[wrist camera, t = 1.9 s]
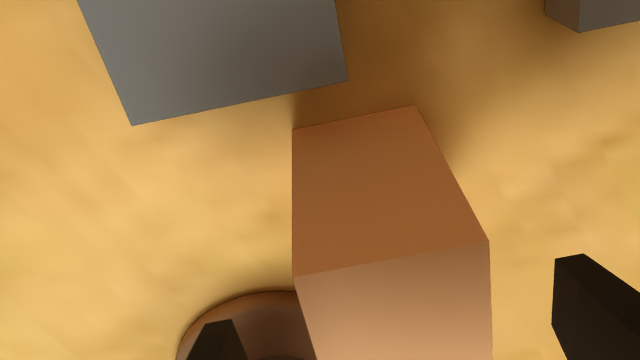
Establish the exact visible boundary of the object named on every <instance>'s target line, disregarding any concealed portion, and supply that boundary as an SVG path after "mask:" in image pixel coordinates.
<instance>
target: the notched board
mask: <svg viewBox="0 0 640 360" xmlns="http://www.w3.org/2000/svg"><path fill="white" fill-rule="evenodd" d="M77 2H78V4H79V6H80V9H81V11H82V13H83V16H84V18H85V20H86V23H87V25H88V27H89V29H90V32H91V34H92V36H93V39H94V41H95V43H96V46H97V48H98V50H99V52H100V55H101V57H102V59H103V62H104V64H105V66H106V69H107V71H108V73H109V75H110V78H111V80H112V82H113V85H114V87H115V89H116V91H117V94H118V96H119V98H120V101H121V103H122V105H123V108H124V110H125V112H126V114H127V117H128V119H129V121H130V124H131V126H135V125H140V124H144V123H149V122H154V121H159V120H164V119H168V118H173V117H178V116H183V115H188V114H192V113H197V112H202V111H207V110H212V109H216V108H221V107H226V106H231V105H235V104H240V103H245V102H250V101H255V100H259V99H264V98H269V97H274V96H279V95H283V94H288V93H293V92H298V91H303V90H307V89H312V88H317V87H322V86H327V85H331V84H336V83H341V82H346V81H349V80H348V74H347V68H346V63H345V57H344V52H343V46H342V40H341V35H340V29H339V24H338V18H337V13H336V7H335V1H334V0H77ZM545 15H546V16H548V17H550V18H552V19H553V20H555V21H557V22H559V23H561V24H563V25H565V26H566V27H568V28H570V29H572V30H574V31H576V32H577V33H581V32H586V31H590V30H595V29H600V28H605V27H610V26H614V25H619V24H624V23H629V22H634V21H638V20H640V0H545Z"/></svg>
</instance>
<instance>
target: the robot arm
mask: <svg viewBox="0 0 640 360" xmlns="http://www.w3.org/2000/svg"><path fill="white" fill-rule="evenodd" d="M551 325H552V327H553V329H554V331H555V334H556V336H557V338H558V340H559V343H560V345H561V347H562V349H563V351H564V353H565V356H566V358H567V360H640V292H638V291H637V290H635V289H634V288H632V287H631V286H630V285H628V284H627V283H625V282H624V281H622V280H621V279H620V278H618V277H617V276H615V275H614V274H612V273H611V272H610V271H608V270H607V269H605V268H604V267H602V266H601V265H600V264H598V263H597V262H595V261H594V260H592V259H591V258H590V257H588V256H587V255H585V254H584V253H583V254H578V255H572V256H567V257H562V258H556V259H555V268H554V286H553V304H552V323H551ZM186 360H248V357H247V355H246V352H245V350H244V348H243V345H242V343H241V340H240V338H239V336H238V333H237V331H236V328H235V326H234V323H233V321H232V319H227V320H221V321H216V322H211V323H205V325H204V326H203V327H202V329H201V331H200V333H199V335H198V337H197V339H196V341H195V342H194V344H193V346H192V348H191V350H190V352H189V354H188V356H187V358H186Z"/></svg>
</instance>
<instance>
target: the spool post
mask: <svg viewBox="0 0 640 360" xmlns="http://www.w3.org/2000/svg"><path fill="white" fill-rule="evenodd" d="M227 319H232V321H233V323H234V326H235V328H236V331H237V333H238V336H239V338H240V340H241V343H242V345H243V348H244V350H245V352H246V355H247V357H248V360H317V357H316V354H315V351H314V348H313V344H312V341H311V338H310V335H309V331H308V328H307V325H306V322H305V318H304V315H303V312H302V308H301V305H300V302H299V299H298V295H297V292H294V291H269V292H261V293H254V294H250V295H246V296H241V297H238V298H235V299H233V300H230V301H227V302H225V303H223V304H221V305H219V306H216V307H214V308H213V309H211V310H210V311H208V312H207V313H205V314H204V315H202V316H201V317H200V318H199V319H198V320H197V321H195V322H194V323H193V325H192V326H191V327H190V328H189V329H188V330H187V332H186V333H185V335H184V337H183V338H182V340H181V343H180V345H179V348H178V352H177V356H176V360H186V358H187V356H188V354H189V352H190V350H191V348H192V346H193V344H194V342H195V341H196V339H197V337H198V335H199V333H200V331H201V329H202V327H203V326H204V325H205V323H211V322H216V321H221V320H227Z"/></svg>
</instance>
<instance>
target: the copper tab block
mask: <svg viewBox="0 0 640 360" xmlns="http://www.w3.org/2000/svg"><path fill="white" fill-rule="evenodd" d="M292 279H293V282H294V286H295V289H296V292H297V295H298V299H299V302H300V305H301V308H302V312H303V315H304V318H305V322H306V325H307V328H308V331H309V335H310V338H311V341H312V344H313V348H314V351H315V354H316V357H317V360H493V344H492V314H491V283H490V253H489V240H488V238H487V236H486V234H485V233H484V231H483V229H482V227H481V225H480V223H479V221H478V220H477V218H476V216H475V214H474V212H473V210H472V209H471V207H470V205H469V203H468V201H467V199H466V197H465V196H464V194H463V192H462V190H461V188H460V186H459V185H458V183H457V181H456V179H455V177H454V175H453V174H452V172H451V170H450V168H449V166H448V164H447V162H446V161H445V159H444V157H443V155H442V153H441V151H440V150H439V148H438V146H437V144H436V142H435V140H434V139H433V137H432V135H431V133H430V131H429V129H428V127H427V126H426V124H425V122H424V120H423V118H422V116H421V115H420V113H419V111H418V109H417V107H416V105H411V106H407V107H402V108H397V109H392V110H387V111H382V112H377V113H372V114H367V115H362V116H358V117H353V118H348V119H343V120H338V121H333V122H328V123H323V124H318V125H313V126H309V127H304V128H299V129H294V130H292Z"/></svg>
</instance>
